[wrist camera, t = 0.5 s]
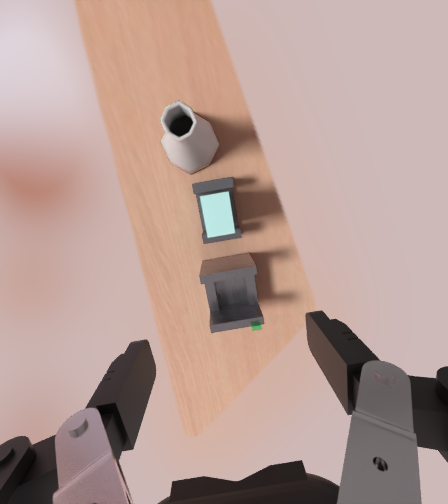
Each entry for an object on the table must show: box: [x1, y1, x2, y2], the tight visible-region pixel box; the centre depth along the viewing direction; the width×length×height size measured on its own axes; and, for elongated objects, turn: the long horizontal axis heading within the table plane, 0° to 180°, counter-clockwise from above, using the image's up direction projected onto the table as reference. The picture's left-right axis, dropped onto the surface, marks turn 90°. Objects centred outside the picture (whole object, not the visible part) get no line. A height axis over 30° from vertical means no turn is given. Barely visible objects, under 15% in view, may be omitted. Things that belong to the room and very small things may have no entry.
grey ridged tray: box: [192, 177, 242, 244], centre depth 31 cm, size 8×5×4 cm, turn 10°
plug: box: [200, 191, 235, 238], centre depth 28 cm, size 4×3×8 cm
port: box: [199, 253, 264, 333], centre depth 32 cm, size 8×7×7 cm
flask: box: [160, 100, 219, 174], centre depth 26 cm, size 7×7×10 cm
